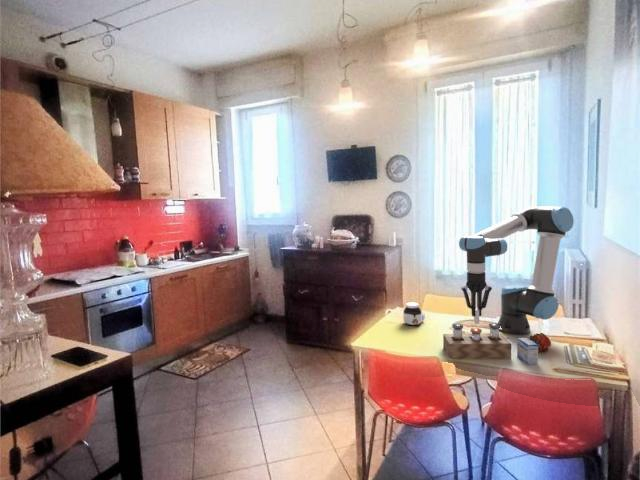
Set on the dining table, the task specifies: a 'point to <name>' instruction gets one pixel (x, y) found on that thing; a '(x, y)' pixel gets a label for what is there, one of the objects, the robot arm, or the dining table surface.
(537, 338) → the dragon fruit
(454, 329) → the plunger
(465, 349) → the block
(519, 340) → the medicine box
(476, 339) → the plunger
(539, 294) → the robot arm
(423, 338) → the dining table surface
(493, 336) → the plunger
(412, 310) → the spread jar
